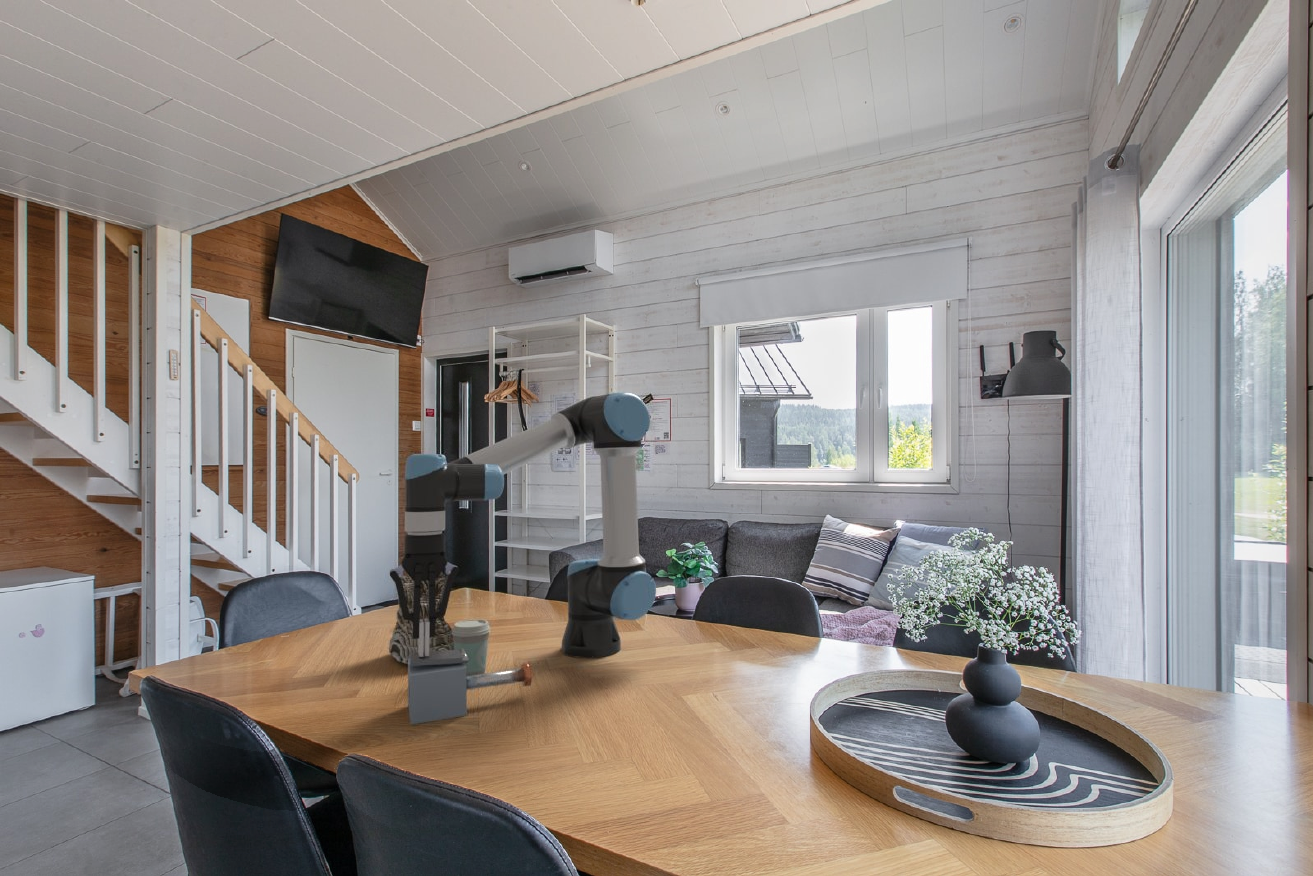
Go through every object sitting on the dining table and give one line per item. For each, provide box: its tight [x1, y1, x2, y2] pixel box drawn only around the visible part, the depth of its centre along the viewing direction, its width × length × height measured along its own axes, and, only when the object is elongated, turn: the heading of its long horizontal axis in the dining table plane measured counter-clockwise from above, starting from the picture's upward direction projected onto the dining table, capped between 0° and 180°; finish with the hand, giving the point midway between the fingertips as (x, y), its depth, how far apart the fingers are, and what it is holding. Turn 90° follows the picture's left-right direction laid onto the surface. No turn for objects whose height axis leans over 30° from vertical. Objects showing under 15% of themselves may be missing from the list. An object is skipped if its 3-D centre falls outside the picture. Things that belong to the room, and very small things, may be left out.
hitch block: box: [407, 661, 468, 725], centre depth 127 cm, size 10×10×9 cm
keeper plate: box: [409, 648, 469, 666], centre depth 127 cm, size 11×6×1 cm, turn 114°
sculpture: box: [388, 571, 455, 665], centre depth 161 cm, size 20×14×25 cm
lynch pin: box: [466, 662, 533, 691], centre depth 131 cm, size 15×5×5 cm, turn 114°
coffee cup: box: [452, 618, 492, 676], centre depth 147 cm, size 8×9×12 cm
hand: (423, 654), depth 126 cm, fingers closed
